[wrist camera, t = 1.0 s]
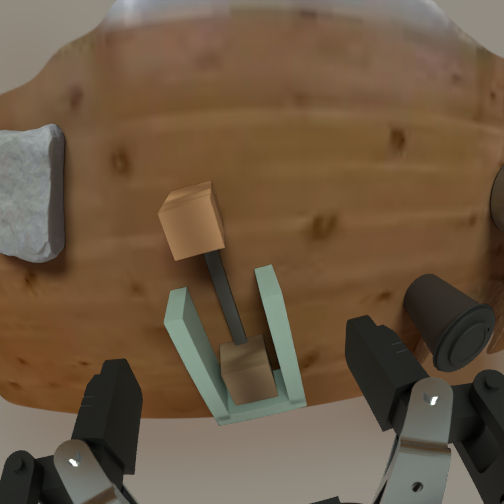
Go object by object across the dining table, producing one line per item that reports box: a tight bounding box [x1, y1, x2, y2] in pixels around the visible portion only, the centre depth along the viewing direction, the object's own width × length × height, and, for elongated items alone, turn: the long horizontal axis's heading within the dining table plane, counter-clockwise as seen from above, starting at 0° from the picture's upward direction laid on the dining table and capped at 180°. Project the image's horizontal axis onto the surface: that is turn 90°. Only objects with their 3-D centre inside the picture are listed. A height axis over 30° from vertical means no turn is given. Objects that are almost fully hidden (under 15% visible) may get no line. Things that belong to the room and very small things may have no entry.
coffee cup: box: [404, 274, 495, 372], centre depth 28 cm, size 8×8×10 cm
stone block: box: [0, 124, 65, 263], centre depth 22 cm, size 12×5×10 cm
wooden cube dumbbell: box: [158, 180, 279, 406], centre depth 27 cm, size 4×21×6 cm, turn 14°
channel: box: [164, 264, 307, 426], centre depth 30 cm, size 10×15×5 cm, turn 14°
